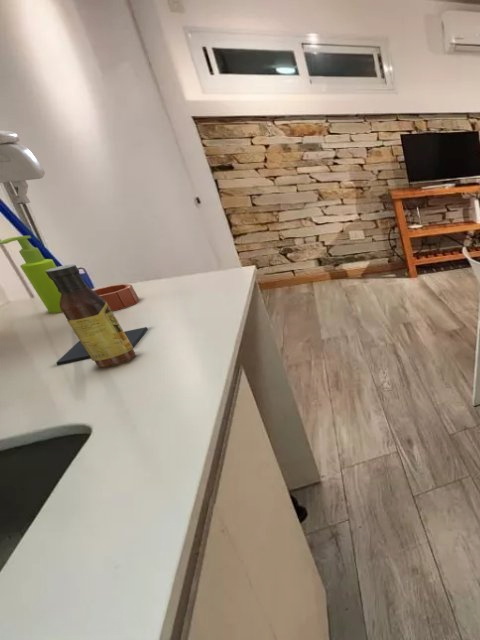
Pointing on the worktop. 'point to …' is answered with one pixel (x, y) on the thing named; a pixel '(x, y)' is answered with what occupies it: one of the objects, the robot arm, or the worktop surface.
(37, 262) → the soap dispenser
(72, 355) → the mat
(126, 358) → the sauce bottle
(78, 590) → the worktop surface
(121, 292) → the pot
